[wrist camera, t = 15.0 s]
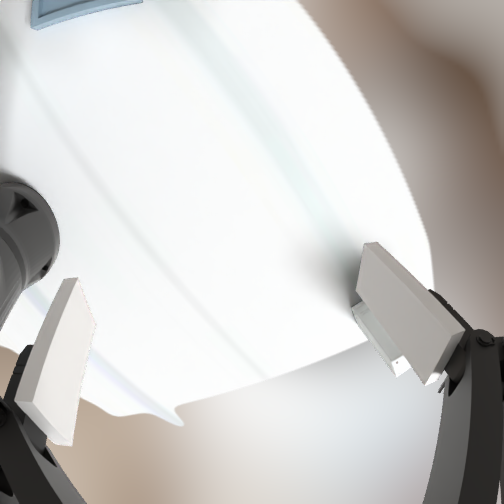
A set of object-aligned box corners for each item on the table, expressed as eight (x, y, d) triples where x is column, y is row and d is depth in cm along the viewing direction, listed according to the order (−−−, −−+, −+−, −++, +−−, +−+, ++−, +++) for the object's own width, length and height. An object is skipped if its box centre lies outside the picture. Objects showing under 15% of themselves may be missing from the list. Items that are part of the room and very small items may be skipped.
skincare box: (357, 324, 57) (393, 380, 44) (349, 305, 54) (389, 364, 41) (392, 302, 56) (434, 353, 43) (387, 282, 53) (433, 334, 40)
